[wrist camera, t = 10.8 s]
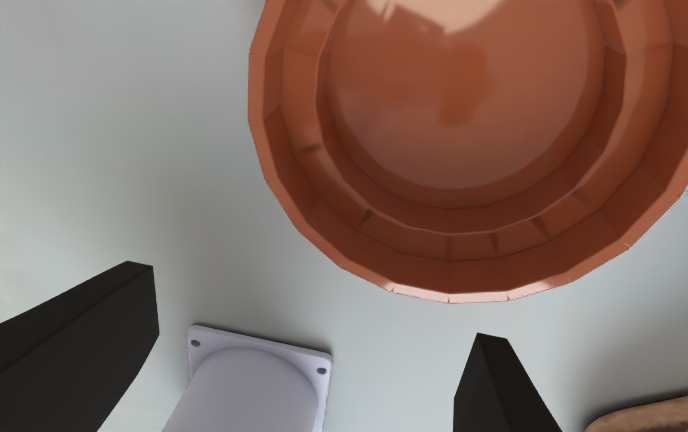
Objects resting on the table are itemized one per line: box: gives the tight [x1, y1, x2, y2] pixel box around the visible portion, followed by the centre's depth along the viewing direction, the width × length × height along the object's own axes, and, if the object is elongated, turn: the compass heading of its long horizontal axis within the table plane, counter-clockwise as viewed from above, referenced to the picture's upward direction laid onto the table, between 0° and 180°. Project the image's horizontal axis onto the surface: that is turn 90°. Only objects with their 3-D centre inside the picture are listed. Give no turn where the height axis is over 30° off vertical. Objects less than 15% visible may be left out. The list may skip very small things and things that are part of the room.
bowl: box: [248, 0, 688, 304], centre depth 15 cm, size 13×13×4 cm
